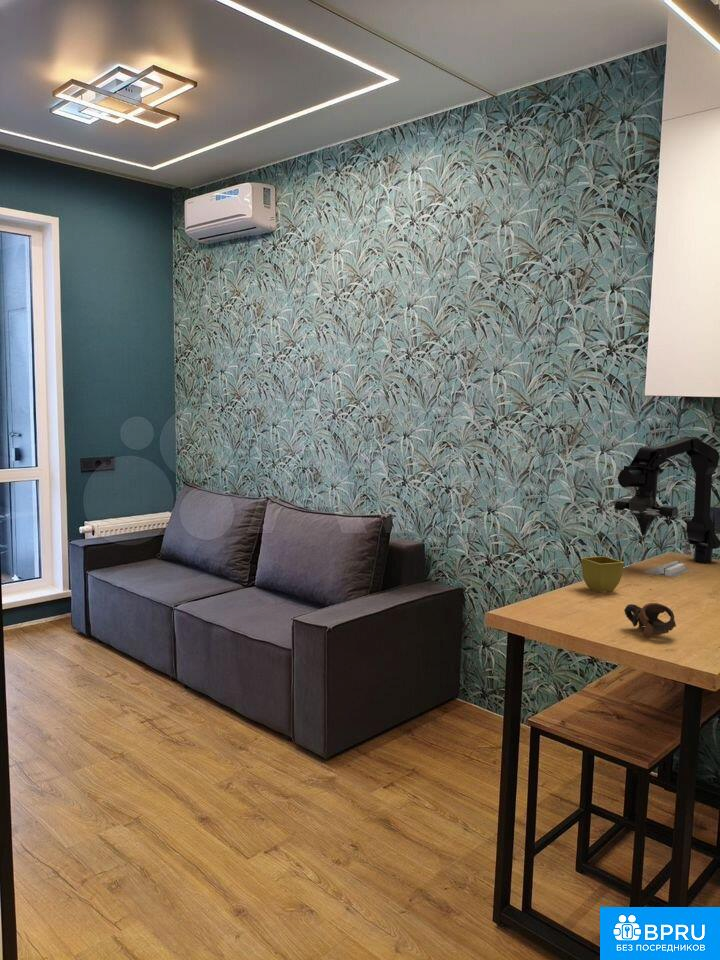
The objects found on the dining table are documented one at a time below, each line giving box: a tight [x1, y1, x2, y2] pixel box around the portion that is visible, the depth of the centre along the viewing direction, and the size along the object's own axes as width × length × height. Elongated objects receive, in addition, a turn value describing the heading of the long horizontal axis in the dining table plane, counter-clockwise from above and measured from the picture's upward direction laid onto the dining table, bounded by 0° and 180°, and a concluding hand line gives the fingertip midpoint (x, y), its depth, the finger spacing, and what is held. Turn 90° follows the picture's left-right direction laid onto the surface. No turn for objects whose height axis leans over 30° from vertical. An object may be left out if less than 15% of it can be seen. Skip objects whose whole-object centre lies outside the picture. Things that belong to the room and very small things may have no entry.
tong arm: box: [659, 560, 681, 574], centre depth 238 cm, size 14×2×2 cm, turn 137°
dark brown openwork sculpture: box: [623, 602, 677, 639], centre depth 179 cm, size 12×10×8 cm
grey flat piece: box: [644, 562, 692, 578], centre depth 239 cm, size 16×9×3 cm, turn 137°
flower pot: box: [580, 555, 625, 593], centre depth 216 cm, size 9×9×9 cm
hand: (643, 534), depth 241 cm, fingers closed
